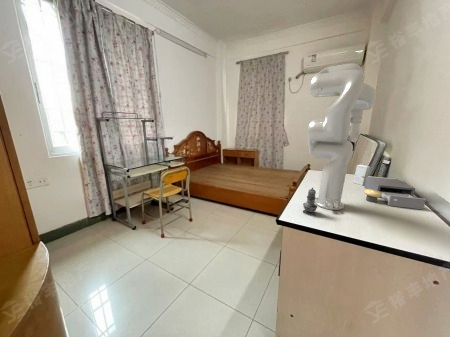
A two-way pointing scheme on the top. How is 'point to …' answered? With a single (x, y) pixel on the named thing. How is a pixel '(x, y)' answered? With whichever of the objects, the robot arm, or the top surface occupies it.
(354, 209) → the top surface
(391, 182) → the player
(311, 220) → the top surface
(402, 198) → the grey drawer
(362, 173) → the skincare box
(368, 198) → the puck
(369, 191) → the disc
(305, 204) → the grey stone pagoda
